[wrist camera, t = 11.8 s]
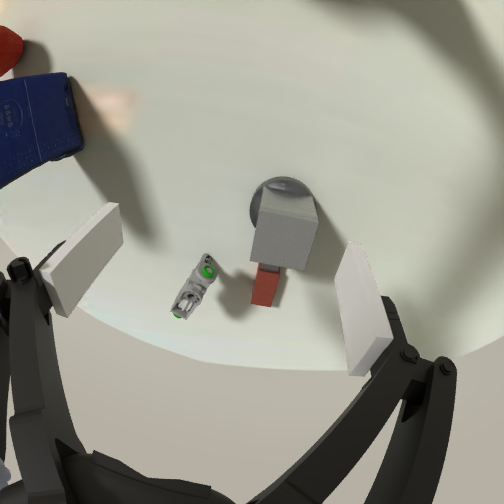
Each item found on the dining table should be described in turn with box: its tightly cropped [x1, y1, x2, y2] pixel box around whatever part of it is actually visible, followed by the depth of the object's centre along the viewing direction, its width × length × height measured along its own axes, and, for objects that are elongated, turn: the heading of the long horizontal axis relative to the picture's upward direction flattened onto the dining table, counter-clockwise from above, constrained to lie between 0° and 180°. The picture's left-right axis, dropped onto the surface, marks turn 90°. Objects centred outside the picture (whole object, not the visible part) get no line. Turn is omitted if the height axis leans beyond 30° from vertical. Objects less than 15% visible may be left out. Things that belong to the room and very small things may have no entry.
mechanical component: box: [170, 254, 218, 320], centre depth 41 cm, size 3×10×10 cm, turn 146°
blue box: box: [0, 72, 83, 189], centre depth 25 cm, size 14×5×20 cm, turn 10°
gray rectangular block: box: [250, 186, 319, 271], centre depth 34 cm, size 6×6×8 cm
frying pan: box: [250, 177, 316, 307], centre depth 39 cm, size 22×9×8 cm, turn 171°
